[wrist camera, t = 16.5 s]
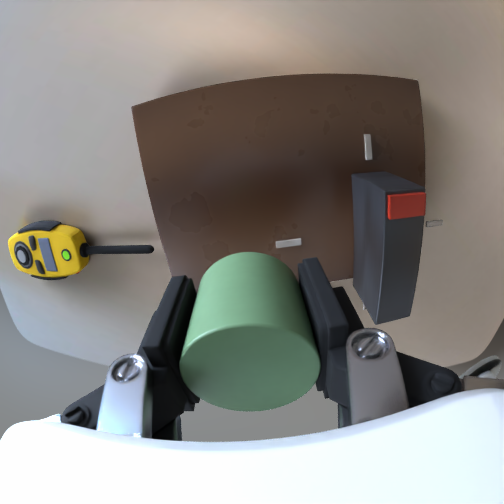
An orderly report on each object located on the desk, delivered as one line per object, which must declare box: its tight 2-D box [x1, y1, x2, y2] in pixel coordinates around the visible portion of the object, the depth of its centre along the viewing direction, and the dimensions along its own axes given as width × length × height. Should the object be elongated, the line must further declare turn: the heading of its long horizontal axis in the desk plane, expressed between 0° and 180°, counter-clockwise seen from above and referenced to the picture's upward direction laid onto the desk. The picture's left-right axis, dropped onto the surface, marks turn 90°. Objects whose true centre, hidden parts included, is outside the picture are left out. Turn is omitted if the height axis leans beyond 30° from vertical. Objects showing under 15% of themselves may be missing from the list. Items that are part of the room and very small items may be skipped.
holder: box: [351, 171, 426, 325], centre depth 13 cm, size 7×2×4 cm, turn 9°
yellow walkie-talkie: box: [8, 221, 154, 280], centre depth 17 cm, size 5×2×15 cm
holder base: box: [131, 74, 443, 310], centre depth 16 cm, size 15×18×3 cm
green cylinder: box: [179, 252, 321, 411], centre depth 9 cm, size 4×4×4 cm
